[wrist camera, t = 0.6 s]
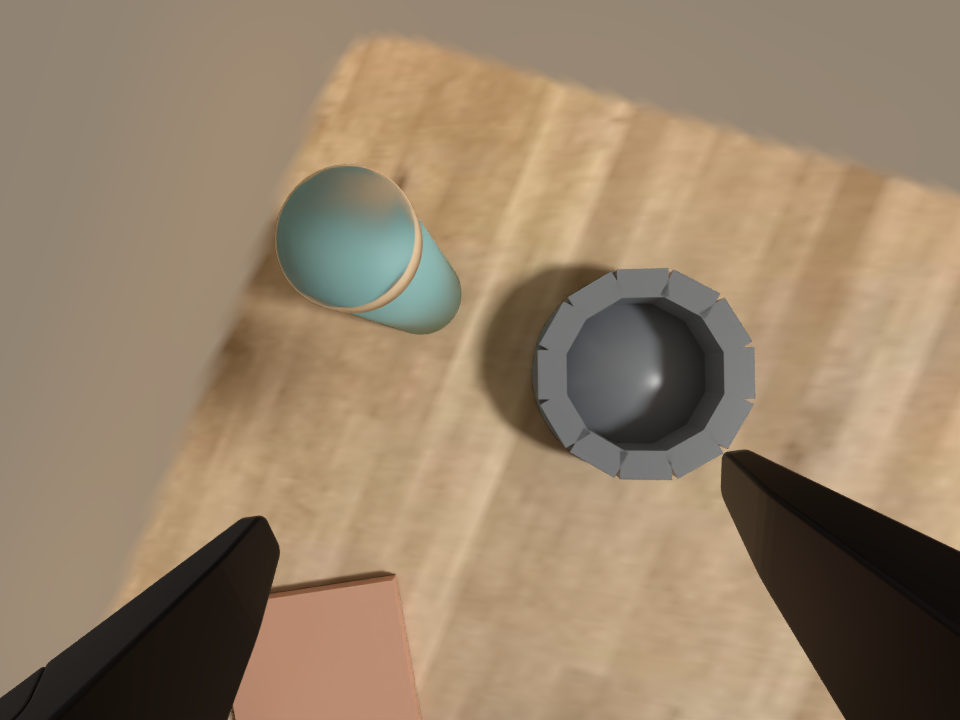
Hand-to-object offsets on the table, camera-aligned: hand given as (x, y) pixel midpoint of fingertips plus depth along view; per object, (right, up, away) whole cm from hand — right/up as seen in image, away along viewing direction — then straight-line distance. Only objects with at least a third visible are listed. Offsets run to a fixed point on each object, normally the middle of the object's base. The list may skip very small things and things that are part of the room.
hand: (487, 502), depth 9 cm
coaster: (-8, -13, +14) cm, 21 cm away
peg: (-3, +6, +14) cm, 15 cm away
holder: (+7, +2, +13) cm, 15 cm away
